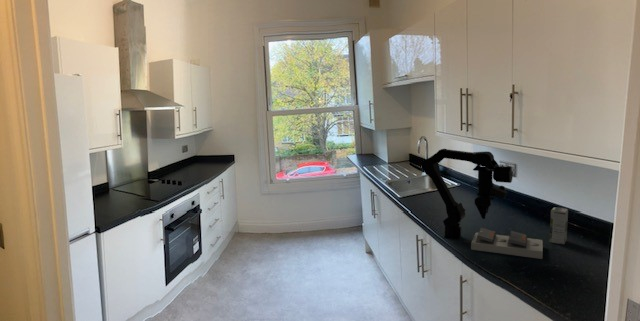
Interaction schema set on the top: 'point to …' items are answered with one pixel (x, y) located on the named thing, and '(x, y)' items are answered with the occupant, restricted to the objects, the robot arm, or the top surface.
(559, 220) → the syrup box
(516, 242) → the right rocker
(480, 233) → the dark grey rectangular block
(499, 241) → the double rocker switch panel
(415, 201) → the top surface
